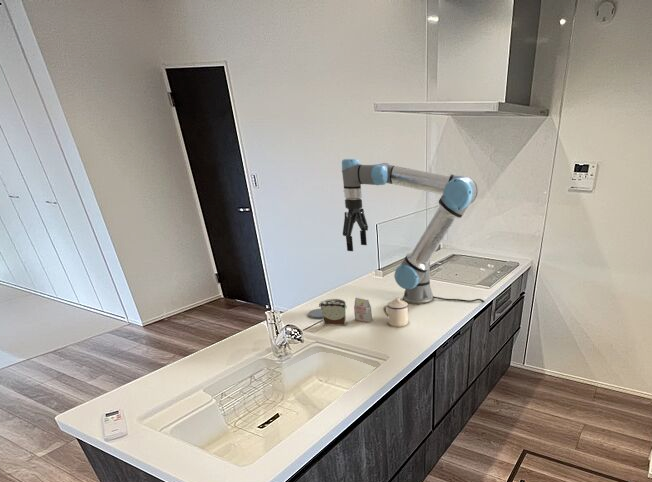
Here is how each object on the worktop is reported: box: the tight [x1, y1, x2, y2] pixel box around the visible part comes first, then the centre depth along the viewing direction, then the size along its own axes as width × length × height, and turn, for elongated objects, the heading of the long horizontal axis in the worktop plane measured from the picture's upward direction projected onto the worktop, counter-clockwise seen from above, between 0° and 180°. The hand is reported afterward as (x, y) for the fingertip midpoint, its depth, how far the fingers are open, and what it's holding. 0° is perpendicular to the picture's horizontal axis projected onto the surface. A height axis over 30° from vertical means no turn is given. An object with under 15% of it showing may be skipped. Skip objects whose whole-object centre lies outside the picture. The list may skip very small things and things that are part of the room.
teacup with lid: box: [383, 297, 409, 328], centre depth 191 cm, size 12×9×12 cm
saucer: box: [308, 308, 323, 320], centre depth 201 cm, size 11×11×1 cm
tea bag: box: [353, 297, 373, 323], centre depth 194 cm, size 4×7×10 cm, turn 64°
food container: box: [318, 298, 348, 326], centre depth 191 cm, size 12×6×10 cm, turn 84°
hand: (357, 247), depth 202 cm, fingers open, 13 cm apart
